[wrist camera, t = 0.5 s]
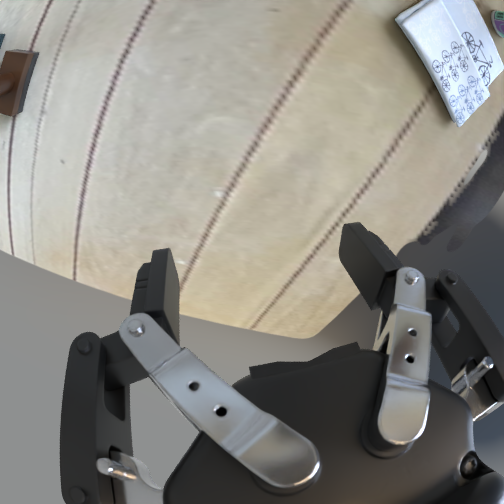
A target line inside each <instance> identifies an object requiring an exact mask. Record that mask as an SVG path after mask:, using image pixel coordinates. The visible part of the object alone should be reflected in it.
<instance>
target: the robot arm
mask: <svg viewBox="0 0 504 504" xmlns="http://www.w3.org/2000/svg"><path fill="white" fill-rule="evenodd" d="M339 258H340V261H341V263H342V264H343V266H344V268H345V269H346V271H347V272H348V274H349V275H350V277H351V278H352V280H353V282H354V283H355V285H356V286H357V288H358V290H359V291H360V293H361V294H362V296H363V298H364V299H365V301H366V302H367V304H368V306H369V307H370V309H371V310H374V309H378V308H381V310H382V312H381V315H380V319H379V324H378V329H377V334H376V338H375V343H374V347H373V350H370V349H360V347H359V346H358V343H357V342H355V343H351V344H347V345H344V346H340V347H337V348H333V349H331V350H329V351H328V352H326V353H324V354H322V355H320V356H318V357H316V358H314V359H313V360H311V361H308V362H274V363H268V364H263V365H258V366H252V367H249V369H250V375H248V376H246V377H244V378H242V379H240V380H239V381H237V382H236V383H234V384H233V385H232V386H230V385H229V384H228V383H226V382H225V381H224V380H223V379H222V378H221V377H219V376H218V375H217V374H216V373H215V372H214V371H212V370H211V369H210V368H209V367H208V366H207V365H206V364H205V363H203V362H202V361H201V360H200V359H199V358H198V357H197V356H196V355H195V354H194V353H192V352H191V351H190V350H189V349H188V348H186V347H184V348H181V347H180V344H179V291H180V287H179V278H178V274H177V270H176V267H175V263H174V260H173V256H172V252H171V250H170V248H166V249H159V250H154V251H153V253H152V259H151V262H150V263H144V264H143V265H142V266H141V268H140V269H139V271H138V273H137V278H136V283H135V290H134V293H133V299H132V305H131V311H130V316H129V317H127V318H126V319H125V320H124V321H123V322H122V323H121V326H120V328H119V331H117V332H115V333H113V334H110V335H108V336H105V337H103V338H99V337H98V336H97V335H96V334H95V333H93V332H86V333H82V334H80V335H79V336H78V337H76V338H75V339H74V340H73V342H72V344H71V347H70V351H69V357H68V362H67V369H66V375H65V383H64V391H63V400H62V411H61V412H62V413H61V428H60V476H61V489H62V496H63V499H64V501H65V503H66V504H504V477H503V476H502V475H500V474H499V473H497V472H496V471H494V470H492V469H491V468H489V467H488V466H486V465H485V464H484V463H483V462H482V461H481V460H480V459H479V458H478V456H477V454H476V452H475V448H474V441H473V422H474V421H479V420H480V419H482V418H483V417H485V416H486V415H488V414H489V413H491V412H492V411H493V410H495V409H496V408H497V407H499V406H500V405H501V404H503V403H504V338H503V336H502V335H501V333H500V332H499V330H498V328H497V327H496V325H495V324H494V322H493V321H492V319H491V318H490V316H489V315H488V313H487V312H486V310H485V309H484V308H483V306H482V305H481V304H480V302H479V301H478V300H477V298H476V297H475V295H474V294H473V293H472V291H471V290H470V289H469V287H468V286H467V285H466V283H465V282H464V281H463V280H462V279H461V277H460V276H459V275H458V274H457V273H455V272H454V271H452V270H448V269H444V270H441V271H440V272H439V275H438V276H437V278H425V277H424V276H423V274H422V273H421V272H420V271H418V270H416V269H414V268H411V267H404V266H403V264H402V263H401V262H400V261H399V260H398V258H397V257H396V256H395V255H394V254H393V252H392V251H391V250H389V248H388V247H387V246H386V244H384V242H383V241H382V240H381V239H380V238H379V237H378V236H377V235H375V234H374V233H372V232H371V231H367V229H366V228H365V227H364V226H363V225H362V224H361V223H360V222H356V223H348V224H344V226H343V229H342V235H341V241H340V247H339ZM449 310H451V311H452V312H453V314H454V316H455V317H456V319H457V320H458V322H459V331H458V333H457V332H456V330H455V329H454V327H453V325H452V324H451V322H450V321H449V319H448V318H447V316H446V315H447V313H448V312H449ZM431 343H432V345H433V347H434V348H435V350H436V352H437V354H438V356H439V358H440V360H441V362H442V364H443V366H444V368H445V370H446V372H447V374H448V376H449V378H450V380H451V382H452V384H451V387H452V390H449V389H448V388H446V387H444V386H442V385H440V384H438V383H437V382H435V381H433V380H431V379H429V378H428V377H429V367H430V353H431ZM147 377H149V378H150V379H151V380H152V382H153V383H154V384H155V385H156V386H157V387H158V389H159V390H160V391H161V392H162V393H163V394H164V395H165V397H166V398H167V399H168V400H169V401H170V402H171V403H172V404H173V405H174V406H175V407H176V409H177V410H178V411H179V412H180V413H181V414H182V415H183V416H184V417H185V418H186V419H187V420H188V421H189V422H190V423H191V424H192V425H193V426H194V427H195V428H196V429H197V430H198V431H199V434H198V435H197V437H196V438H195V440H194V441H193V443H192V444H191V446H190V447H189V449H188V450H187V452H186V453H185V455H184V457H183V458H182V459H181V461H180V462H179V464H178V465H177V466H176V468H175V469H174V471H173V472H172V474H171V475H170V477H169V478H168V480H167V481H166V483H165V486H164V489H162V488H160V487H159V486H157V485H156V484H155V483H154V482H153V480H152V478H151V476H150V473H149V470H148V468H147V467H146V465H145V464H144V463H143V462H141V461H140V460H138V459H135V458H134V457H133V448H132V436H131V419H130V384H131V383H134V382H137V381H139V380H142V379H144V378H147Z"/></svg>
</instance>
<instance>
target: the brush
mask: <svg viewBox="0 0 504 504" xmlns="http://www.w3.org/2000/svg"><path fill="white" fill-rule="evenodd" d="M38 55H39V52H33V51H26V50H9V51H6V52H5V55H4V58H3V61H2V65H1V68H0V113H1V114H5V115H8V116H14V115H16V114H18V113H20V112H22V111H23V106H24V102H25V98H26V94H27V90H28V86H29V83H30V79H31V76H32V73H33V70H34V67H35V64H36V61H37V58H38Z"/></svg>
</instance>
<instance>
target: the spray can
mask: <svg viewBox="0 0 504 504" xmlns="http://www.w3.org/2000/svg"><path fill="white" fill-rule="evenodd" d="M491 20H492V24H493V27H494V29H495V31H496V33H497V34H498V35H499V36H500V37H503V38H504V12H502V11H492V13H491Z"/></svg>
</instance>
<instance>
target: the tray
mask: <svg viewBox="0 0 504 504" xmlns="http://www.w3.org/2000/svg"><path fill="white" fill-rule="evenodd" d="M4 36H5V34H0V48H1V45H2V42H3V39H4Z"/></svg>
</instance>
